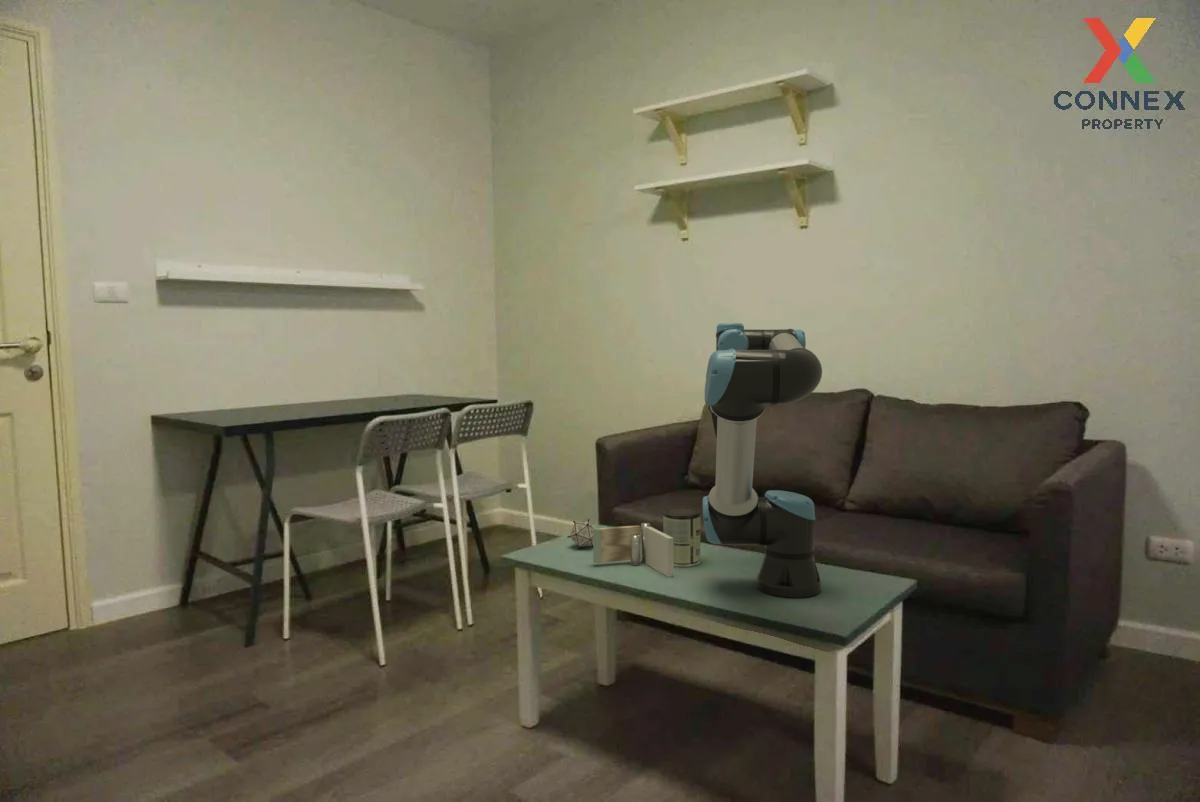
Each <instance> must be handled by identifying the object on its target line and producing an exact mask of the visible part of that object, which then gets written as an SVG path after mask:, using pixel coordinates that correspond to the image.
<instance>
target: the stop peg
mask: <svg viewBox="0 0 1200 802" xmlns="http://www.w3.org/2000/svg"><path fill="white" fill-rule="evenodd" d="M640 562H641V559H640V535H637V534H633V535H631V560H630V566H631V567H639V566H640V565H641V564H640Z"/></svg>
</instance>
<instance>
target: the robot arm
mask: <svg viewBox="0 0 1200 802" xmlns="http://www.w3.org/2000/svg"><path fill="white" fill-rule="evenodd" d="M715 339H716V341H715V343H716V344H715V351H714V352H712V353H711V355H710V356H709V358H708V359H709V360H708V363H707V368H706V374H705V383H704V403H705V404H706V405H708V410H709V412H710V414H711V419H712V424H713V429H714V435H715V439H716V451H715V452H716V454H715V456H716V459H715V482H714V483H715V485H714V486H712V488H711V489H710V491H709V493H708V495H706V496H705V495H704V496H703V498H702V515H703V527H704V532H705V538H706V540H707V542H709V543H710V544H712V545H713V544H715V545H722V546H726V545H727V546H764V557H763V560H762V561H761V566H760V568H759V572H758V575H757V577H756V587H757V589H758V590H760V591H762V592H764V593H766V594H769V595H771V596H772V595H773V596H777V597H782V598H794V599H796V598H809V597H813V596H816V595H818V594H819V593H821V591H822V580H821V577H820V574H819V571H818V567H817V564H816V561H815V520H816V518H817V517H816V515H815V514H816V513H815V511H816V510H815V503H814V501H813V500H812V499H811V498H810V497H808V496H806V495H803V494H800V493H798V492H793V491H788V490H787V491H786V490H779V489H778V490H777V489H776V490H775V489H774V490H772V489H771V490H767V491H766V492H765V493H764V496H758V493H757V492H756V490H755V489H754V488H753V481H754V480H753V479H754V468H755V466H754V465H755V453H756V452H755V451H756V436H757V435H756V434H757V423H758V422H757V421H758V419H759V418H760V417H761V416H762V415H763V414H764V413H765V409H766V406H771V405H773V406H774V405H776V406H777V405H779V406H780V405H781V406H783V405H788V404H793V403H796V402H798V401H802V400H803V399H804V398H807V396H809V395H810V394H811V393H812V392H814V391H815V390H817V387H818V386H819V384H820V382H821V379H822V376H823V369H822V368H823V367H822V364H821V361H820V359H819V358H818V357H817V355H816V354H814V352H812V351H811V350H809V349H807V348H806V343H807V342H806V334H805V331H804V330H802V329H794V328H788V329H783V328H782V329H779V328H778V329H745V326H744V324H743V323H741V322H721V323H717V326H716V333H715Z"/></svg>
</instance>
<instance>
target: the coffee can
mask: <svg viewBox="0 0 1200 802" xmlns="http://www.w3.org/2000/svg"><path fill="white" fill-rule="evenodd" d="M701 515H702V511H701V510H700V509H698V508H695V507H689V506H688V507H687V506H674V507H667V508H665V509H662V523H663V524H662V525H663V527H662V528H663V529H662V533H664V534H666V535H668V536H670V537H673V538H674V546H673V567H677V568H688V567H689V568H690V567H695V566H699V565H700V564H701Z"/></svg>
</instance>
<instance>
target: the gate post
mask: <svg viewBox="0 0 1200 802" xmlns="http://www.w3.org/2000/svg"><path fill="white" fill-rule="evenodd" d="M640 527H641V559H640V562H641V563H644V564H646V563H645V527H651V524H650V522H641V523H640Z"/></svg>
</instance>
